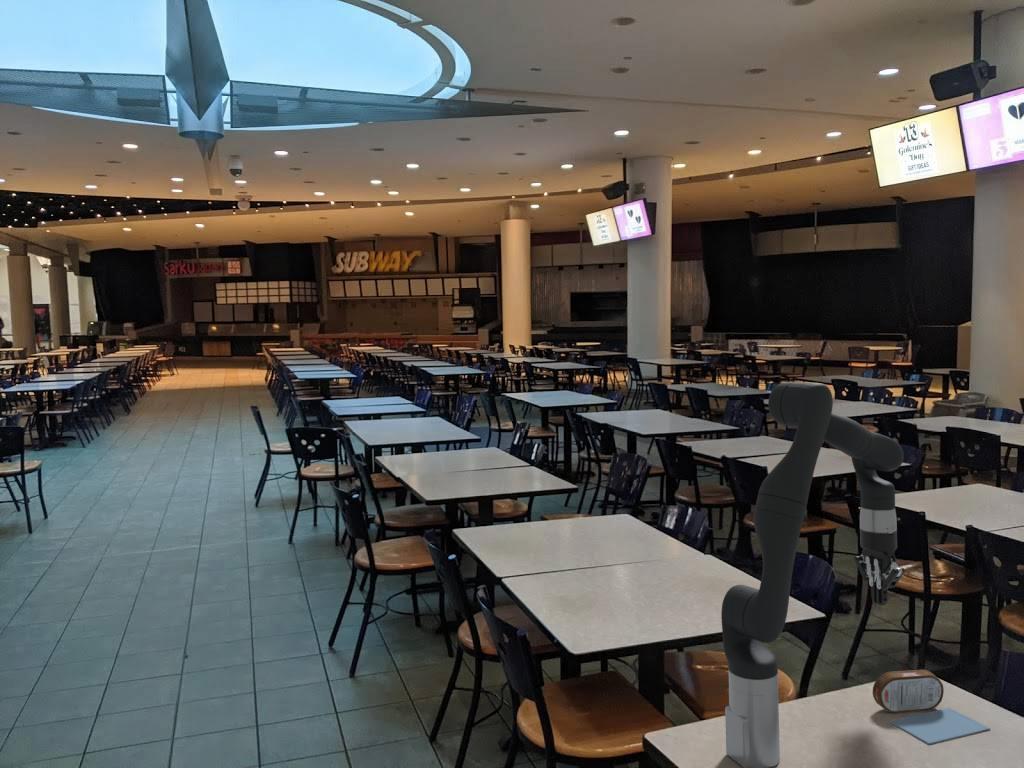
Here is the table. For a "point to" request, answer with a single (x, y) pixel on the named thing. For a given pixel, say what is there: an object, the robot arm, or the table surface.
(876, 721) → the table surface
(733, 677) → the robot arm
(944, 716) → the mat
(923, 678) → the tin
